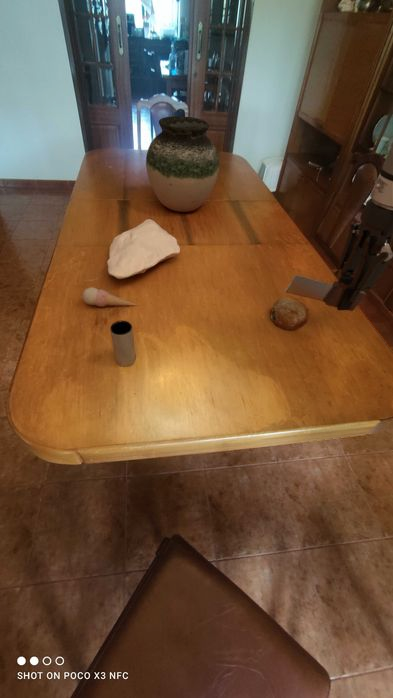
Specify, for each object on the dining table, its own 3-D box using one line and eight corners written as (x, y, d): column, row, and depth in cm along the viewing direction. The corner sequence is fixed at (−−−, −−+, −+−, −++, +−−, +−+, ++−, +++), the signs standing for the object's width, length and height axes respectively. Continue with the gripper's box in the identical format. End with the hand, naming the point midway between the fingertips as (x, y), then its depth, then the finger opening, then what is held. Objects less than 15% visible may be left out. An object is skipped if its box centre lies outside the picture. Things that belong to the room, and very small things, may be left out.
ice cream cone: (139, 301, 91) (85, 290, 87) (141, 294, 87) (84, 282, 83) (136, 316, 90) (81, 306, 86) (138, 310, 85) (80, 298, 82)
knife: (347, 304, 77) (361, 288, 74) (352, 311, 75) (367, 294, 72) (282, 288, 70) (295, 269, 67) (286, 295, 69) (299, 276, 65)
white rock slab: (188, 236, 114) (185, 211, 108) (168, 293, 90) (163, 264, 84) (126, 237, 118) (120, 213, 112) (91, 292, 94) (81, 265, 87)
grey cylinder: (128, 349, 76) (124, 317, 69) (139, 360, 74) (136, 328, 67) (112, 358, 74) (105, 326, 67) (123, 370, 72) (118, 337, 65)
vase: (157, 224, 122) (154, 133, 100) (141, 195, 140) (136, 112, 118) (224, 218, 130) (236, 132, 108) (201, 191, 148) (207, 113, 126)
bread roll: (267, 318, 93) (262, 300, 87) (298, 302, 93) (295, 283, 86) (283, 341, 87) (279, 324, 81) (317, 324, 86) (315, 305, 80)
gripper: (350, 187, 63) (311, 286, 80) (396, 222, 52) (340, 328, 69) (384, 187, 64) (339, 285, 81) (436, 221, 53) (371, 326, 70)
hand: (339, 304), depth 75 cm, fingers closed on knife, 2 cm apart
